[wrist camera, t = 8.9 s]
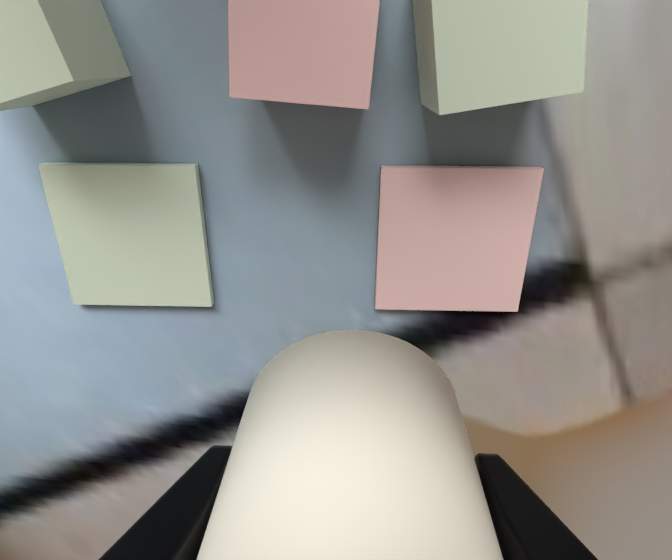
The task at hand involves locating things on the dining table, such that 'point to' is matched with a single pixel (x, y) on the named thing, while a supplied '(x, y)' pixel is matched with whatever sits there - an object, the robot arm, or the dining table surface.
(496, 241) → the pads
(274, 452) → the cream rounded cylinder
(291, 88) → the cube rose
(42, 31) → the sage cube
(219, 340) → the dining table surface
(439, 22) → the sage cube
